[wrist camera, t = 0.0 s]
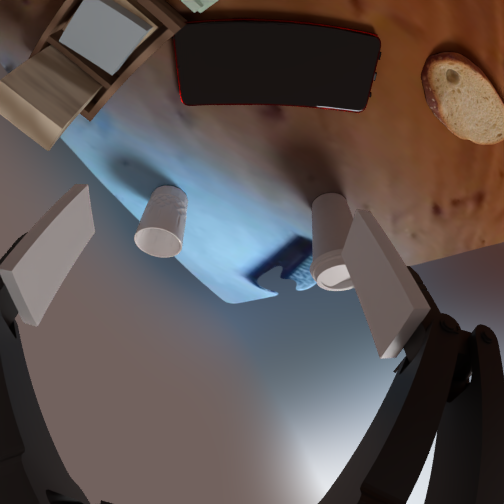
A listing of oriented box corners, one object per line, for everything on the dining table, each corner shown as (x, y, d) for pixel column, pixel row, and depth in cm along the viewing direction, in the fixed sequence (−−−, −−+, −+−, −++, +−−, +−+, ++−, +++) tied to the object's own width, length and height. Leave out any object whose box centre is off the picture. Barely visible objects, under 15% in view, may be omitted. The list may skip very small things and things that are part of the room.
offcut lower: (109, -21, 19) (101, -20, 18) (163, 23, 26) (158, 27, 24) (71, 25, 23) (62, 29, 22) (121, 65, 30) (114, 71, 28)
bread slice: (507, 135, 34) (518, 148, 32) (428, 152, 41) (437, 166, 39) (509, 45, 21) (524, 55, 19) (415, 53, 28) (427, 62, 25)
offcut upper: (97, -9, 19) (87, -7, 18) (153, 27, 24) (146, 30, 23) (67, 35, 23) (58, 41, 22) (119, 69, 28) (112, 75, 27)
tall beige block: (61, 38, 24) (0, 80, 17) (110, 77, 31) (62, 129, 23) (48, 59, 26) (-10, 106, 19) (94, 96, 33) (48, 151, 25)
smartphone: (366, 116, 35) (180, 108, 35) (363, 110, 36) (183, 103, 36) (386, 37, 25) (170, 23, 25) (382, 33, 26) (173, 21, 26)
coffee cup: (313, 228, 57) (321, 298, 49) (294, 196, 51) (301, 271, 42) (360, 214, 53) (377, 284, 45) (347, 179, 47) (367, 253, 38)
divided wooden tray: (114, -41, 17) (99, -40, 15) (188, 22, 26) (181, 28, 24) (39, 57, 26) (23, 68, 24) (101, 107, 35) (90, 121, 33)
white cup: (162, 217, 55) (151, 260, 50) (140, 189, 49) (124, 233, 44) (198, 208, 53) (190, 253, 48) (178, 177, 47) (165, 222, 41)
